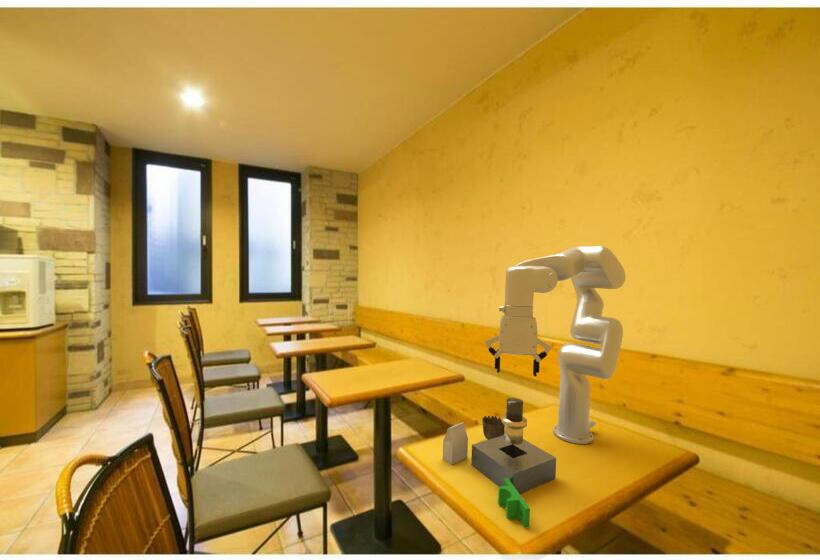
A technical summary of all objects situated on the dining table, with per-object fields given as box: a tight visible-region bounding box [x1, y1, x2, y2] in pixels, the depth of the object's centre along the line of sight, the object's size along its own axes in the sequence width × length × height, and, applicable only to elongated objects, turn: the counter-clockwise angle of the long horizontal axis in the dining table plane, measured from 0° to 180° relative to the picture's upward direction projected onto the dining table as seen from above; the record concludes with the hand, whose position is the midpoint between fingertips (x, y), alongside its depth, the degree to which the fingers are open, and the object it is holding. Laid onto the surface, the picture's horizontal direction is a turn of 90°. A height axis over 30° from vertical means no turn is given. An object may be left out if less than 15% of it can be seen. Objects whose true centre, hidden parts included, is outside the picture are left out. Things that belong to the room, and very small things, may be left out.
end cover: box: [500, 397, 528, 445], centre depth 99 cm, size 7×7×11 cm
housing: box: [470, 435, 557, 495], centre depth 99 cm, size 16×16×6 cm
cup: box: [481, 415, 505, 440], centre depth 114 cm, size 8×7×8 cm
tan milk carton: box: [442, 422, 469, 466], centre depth 105 cm, size 4×7×10 cm, turn 130°
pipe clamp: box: [497, 478, 531, 529], centre depth 83 cm, size 11×4×5 cm, turn 10°
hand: (516, 373), depth 98 cm, fingers open, 9 cm apart
